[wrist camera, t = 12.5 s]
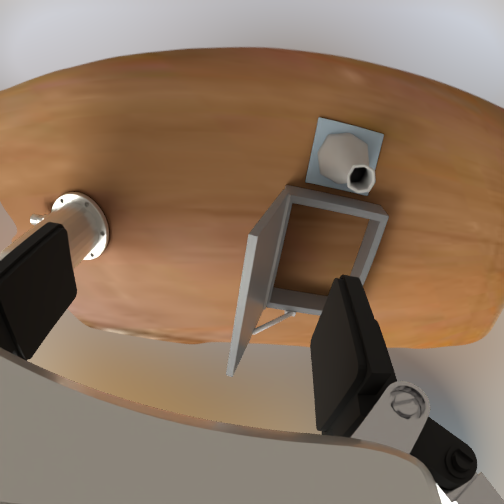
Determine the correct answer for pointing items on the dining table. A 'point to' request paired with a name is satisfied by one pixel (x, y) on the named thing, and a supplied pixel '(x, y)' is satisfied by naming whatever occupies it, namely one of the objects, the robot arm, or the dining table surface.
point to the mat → (336, 127)
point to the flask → (346, 162)
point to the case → (364, 258)
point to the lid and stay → (256, 280)
